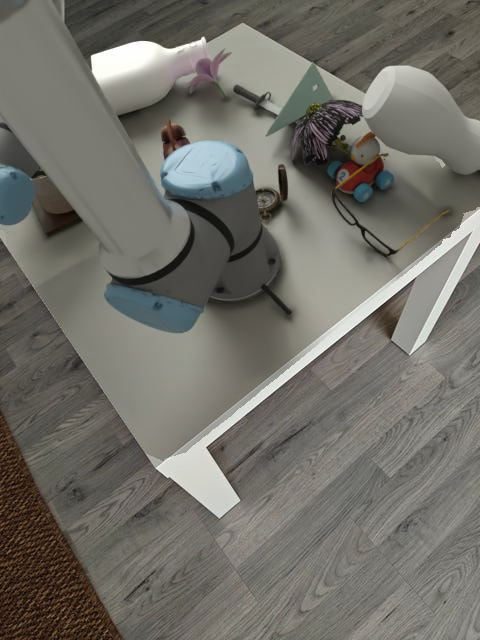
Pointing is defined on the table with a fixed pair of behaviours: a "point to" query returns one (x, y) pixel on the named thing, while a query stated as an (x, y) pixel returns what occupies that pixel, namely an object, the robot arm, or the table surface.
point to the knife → (259, 100)
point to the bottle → (143, 72)
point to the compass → (273, 194)
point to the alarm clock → (173, 138)
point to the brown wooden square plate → (55, 219)
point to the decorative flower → (324, 129)
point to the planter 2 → (302, 99)
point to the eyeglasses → (362, 228)
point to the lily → (207, 71)
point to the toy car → (374, 172)
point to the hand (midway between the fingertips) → (62, 168)
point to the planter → (50, 196)
